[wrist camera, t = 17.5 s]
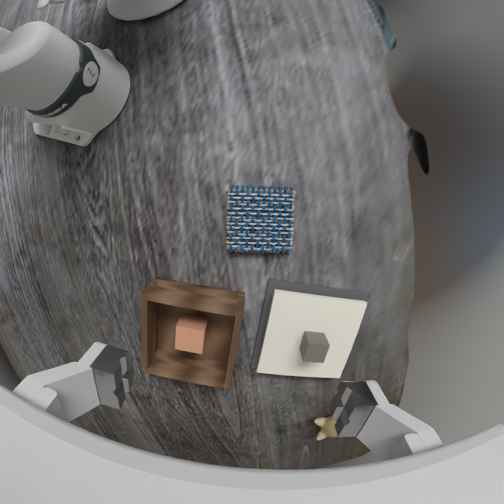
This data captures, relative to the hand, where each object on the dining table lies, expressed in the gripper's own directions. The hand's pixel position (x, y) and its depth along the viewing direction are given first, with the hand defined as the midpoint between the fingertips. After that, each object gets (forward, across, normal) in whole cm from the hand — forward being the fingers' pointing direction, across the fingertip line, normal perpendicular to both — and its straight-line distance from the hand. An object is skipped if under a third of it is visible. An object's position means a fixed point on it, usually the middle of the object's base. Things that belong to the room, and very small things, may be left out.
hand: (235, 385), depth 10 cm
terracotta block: (+33, +6, +18) cm, 38 cm away
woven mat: (+35, -2, -2) cm, 35 cm away
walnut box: (+34, +6, +18) cm, 39 cm away
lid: (+34, -14, +16) cm, 40 cm away
